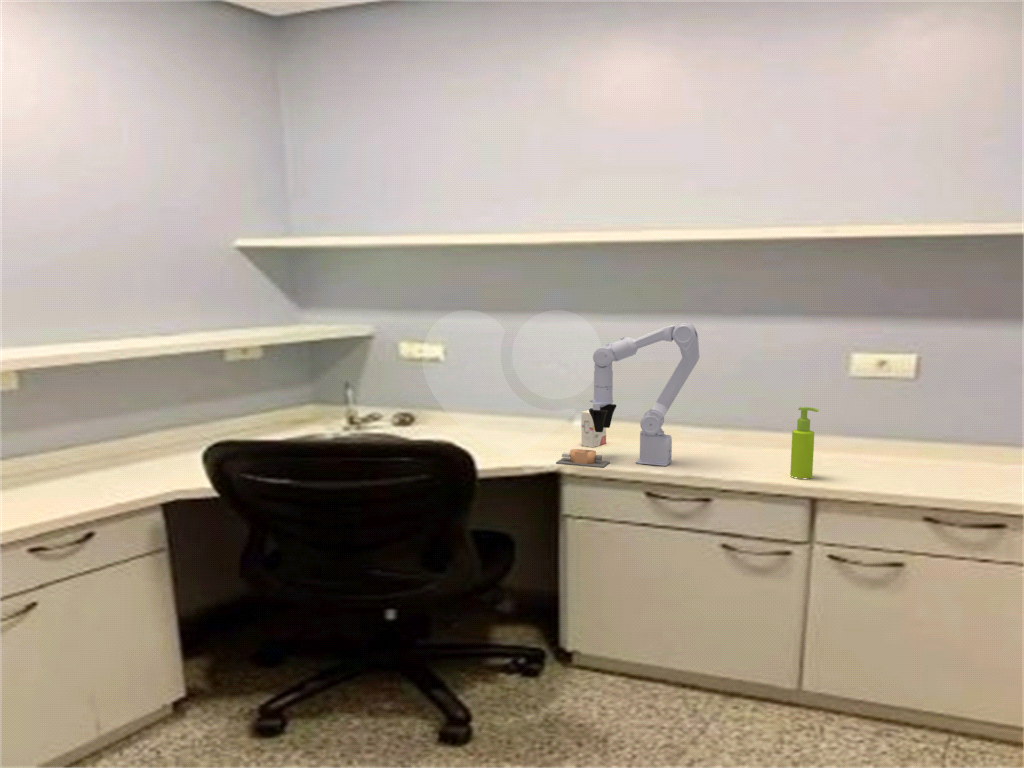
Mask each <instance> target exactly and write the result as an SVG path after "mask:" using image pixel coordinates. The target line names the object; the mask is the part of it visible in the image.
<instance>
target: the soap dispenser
mask: <svg viewBox="0 0 1024 768" xmlns="http://www.w3.org/2000/svg"><path fill="white" fill-rule="evenodd" d="M798 411H800V417H798V418H797V420H796V421H797V422H796V423H797V424H796V429H794V430H792V431H791V448H790V449H791V455H790V474H789V475H791V476H793V477H797V478H811V477H812V478H813V472H814V471H813V470H814V468H813V467H814V446H815V432H814V431H813V430H811V419H810V418H808V411H810V412H815V413H818V412H820V409H818V408H815V407H808V406H800V407H798ZM791 476H790V477H791Z"/></svg>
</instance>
